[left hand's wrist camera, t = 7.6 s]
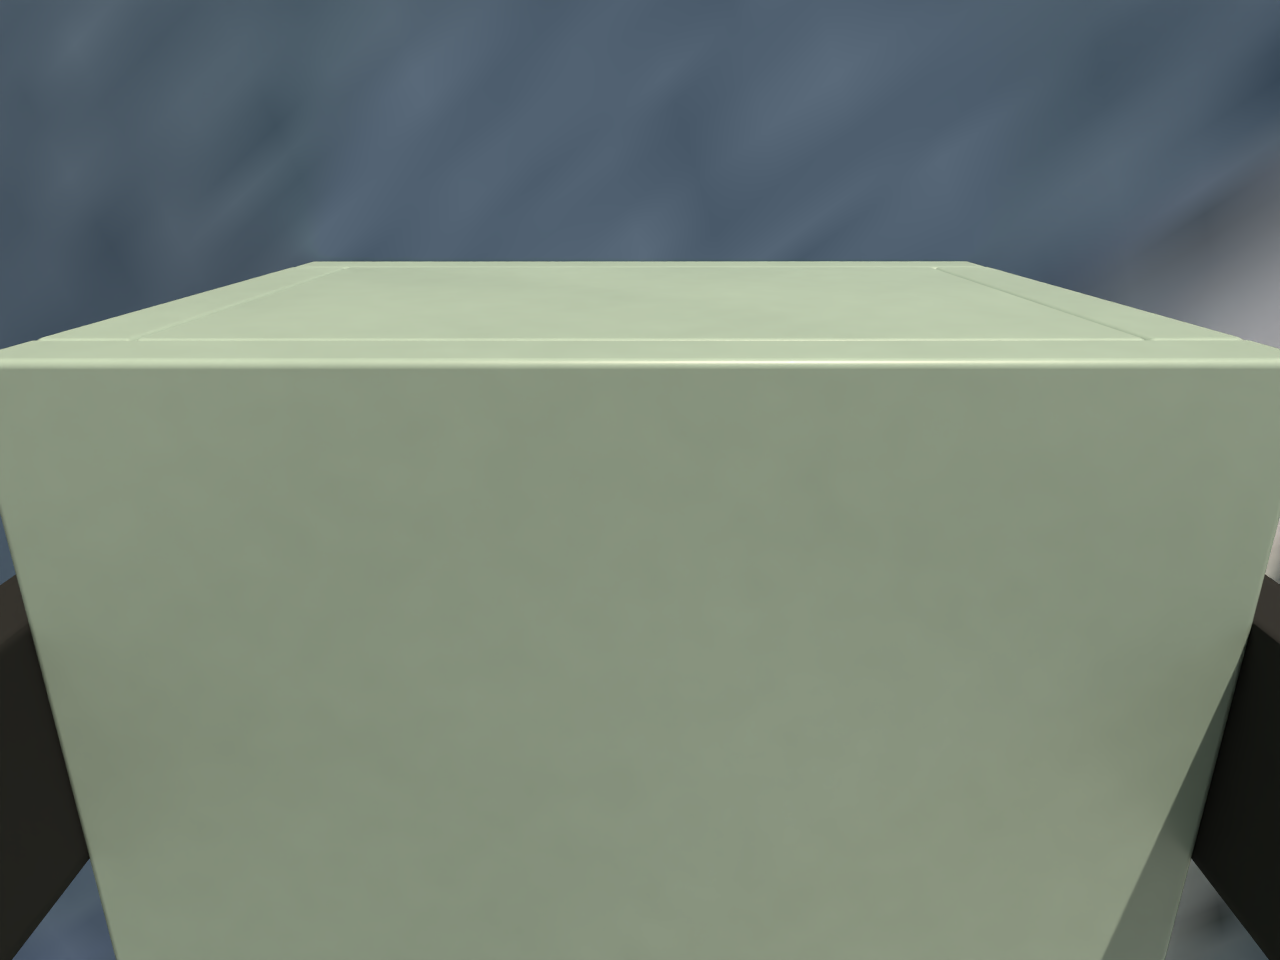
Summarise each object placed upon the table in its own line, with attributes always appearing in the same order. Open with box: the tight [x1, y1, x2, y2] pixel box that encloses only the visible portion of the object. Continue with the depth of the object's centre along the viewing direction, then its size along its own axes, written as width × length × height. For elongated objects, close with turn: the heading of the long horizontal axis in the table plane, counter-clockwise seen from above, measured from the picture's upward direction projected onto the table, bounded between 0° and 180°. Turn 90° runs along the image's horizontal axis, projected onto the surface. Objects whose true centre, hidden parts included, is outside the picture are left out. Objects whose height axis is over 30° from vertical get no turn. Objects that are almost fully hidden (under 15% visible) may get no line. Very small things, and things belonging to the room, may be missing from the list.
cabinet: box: [0, 262, 1280, 960], centre depth 14 cm, size 20×11×8 cm, turn 0°
